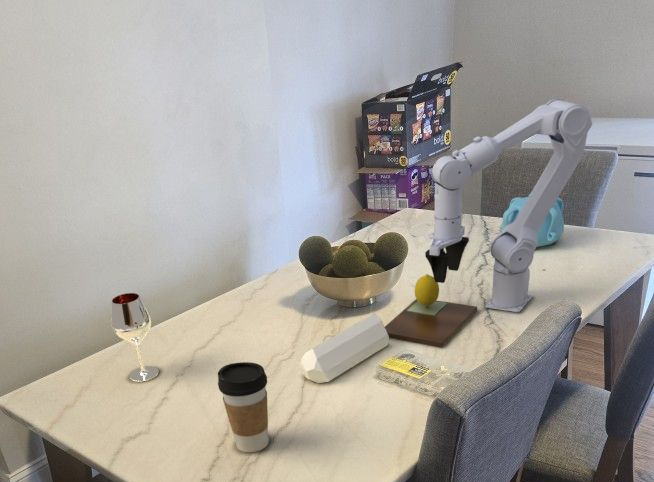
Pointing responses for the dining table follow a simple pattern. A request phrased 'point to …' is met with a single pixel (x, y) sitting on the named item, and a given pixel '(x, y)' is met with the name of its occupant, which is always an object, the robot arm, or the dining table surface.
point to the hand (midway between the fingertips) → (446, 275)
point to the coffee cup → (246, 404)
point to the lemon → (426, 290)
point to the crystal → (345, 350)
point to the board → (430, 322)
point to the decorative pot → (550, 226)
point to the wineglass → (132, 328)
